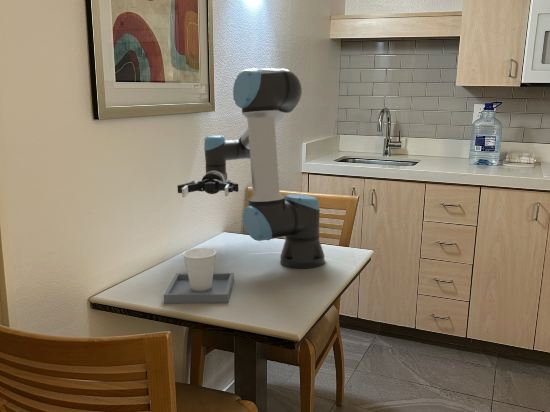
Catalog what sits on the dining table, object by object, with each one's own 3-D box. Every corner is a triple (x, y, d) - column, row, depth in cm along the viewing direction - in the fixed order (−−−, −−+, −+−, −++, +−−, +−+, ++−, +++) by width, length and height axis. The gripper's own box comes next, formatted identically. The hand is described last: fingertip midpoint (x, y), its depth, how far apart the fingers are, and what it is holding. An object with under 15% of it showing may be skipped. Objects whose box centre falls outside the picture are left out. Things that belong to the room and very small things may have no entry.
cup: (212, 295, 157) (210, 258, 155) (179, 293, 159) (177, 257, 157) (222, 283, 167) (220, 248, 164) (191, 281, 168) (189, 247, 166)
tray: (233, 280, 171) (233, 272, 170) (227, 302, 153) (227, 294, 153) (176, 280, 171) (176, 273, 171) (164, 303, 154) (163, 294, 153)
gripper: (248, 191, 195) (244, 203, 174) (178, 193, 195) (166, 205, 175) (247, 170, 194) (243, 179, 173) (177, 172, 194) (164, 181, 173)
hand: (204, 192), depth 174 cm, fingers open, 13 cm apart
